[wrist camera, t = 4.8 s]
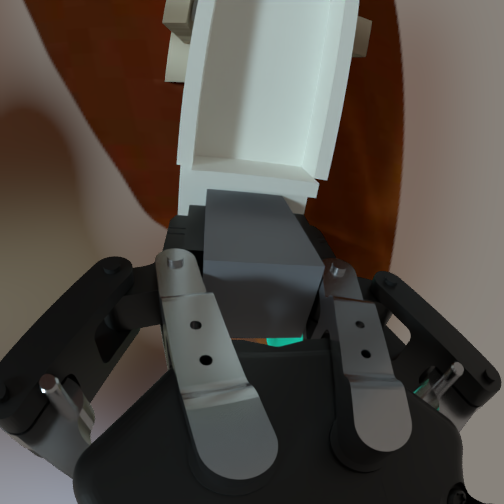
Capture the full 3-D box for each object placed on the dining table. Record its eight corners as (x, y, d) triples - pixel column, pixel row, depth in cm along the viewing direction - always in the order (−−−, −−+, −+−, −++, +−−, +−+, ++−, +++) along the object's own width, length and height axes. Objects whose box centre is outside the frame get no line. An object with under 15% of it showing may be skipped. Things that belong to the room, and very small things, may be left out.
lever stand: (181, -14, 14) (160, -66, 6) (329, 8, 16) (396, -18, 8) (166, 81, 18) (131, 87, 10) (312, 98, 20) (371, 119, 12)
